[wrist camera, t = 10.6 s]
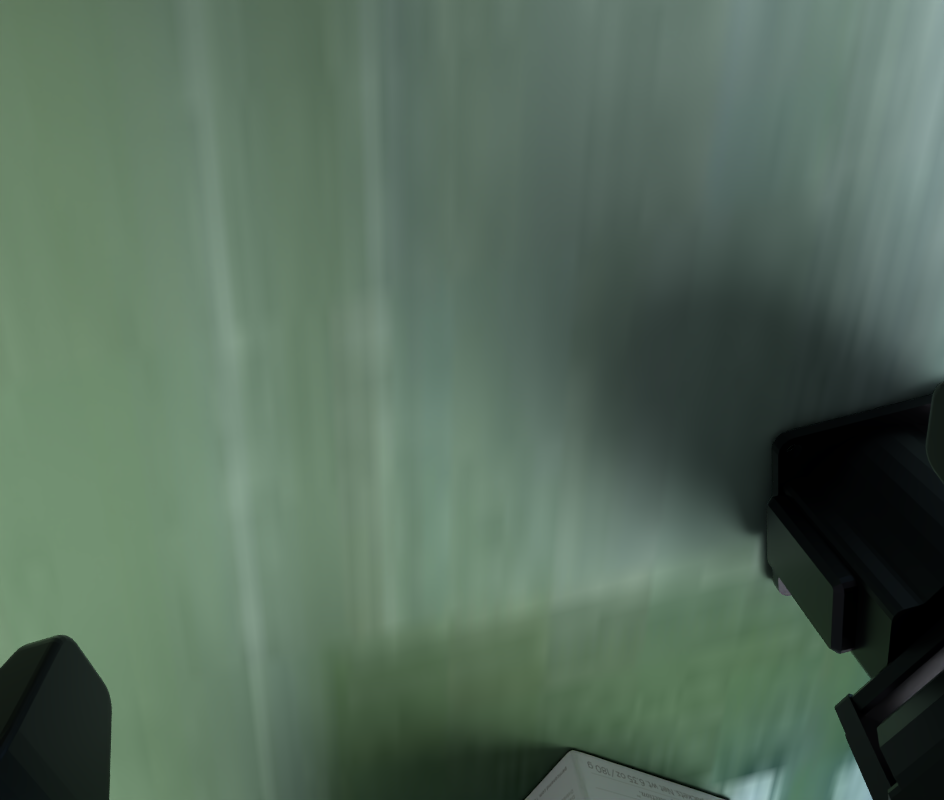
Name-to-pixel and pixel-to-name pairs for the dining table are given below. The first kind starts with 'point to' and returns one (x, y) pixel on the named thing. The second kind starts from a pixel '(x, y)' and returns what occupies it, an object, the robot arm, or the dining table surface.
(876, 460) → the robot arm
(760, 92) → the dining table surface
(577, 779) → the supplement box
